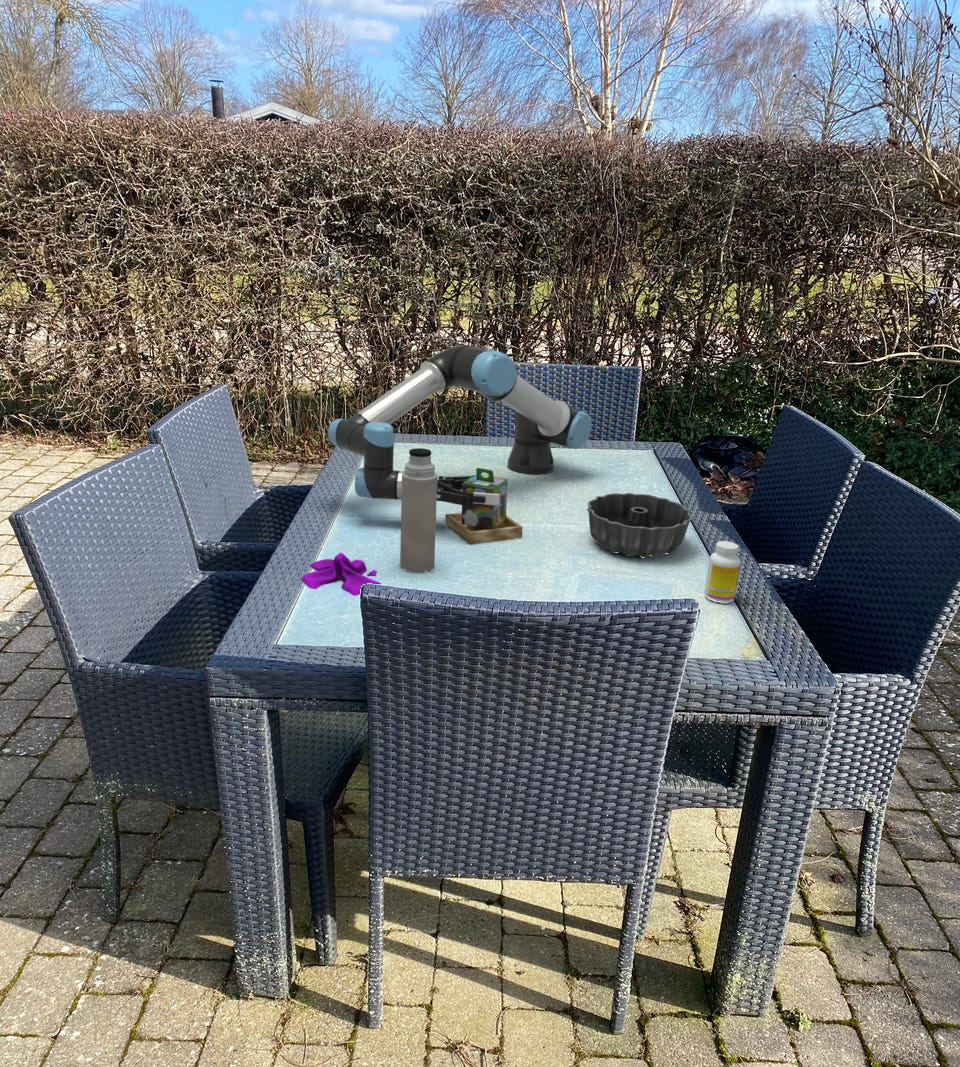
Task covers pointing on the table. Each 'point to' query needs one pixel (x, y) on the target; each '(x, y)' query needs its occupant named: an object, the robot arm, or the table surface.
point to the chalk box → (485, 513)
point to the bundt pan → (638, 523)
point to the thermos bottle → (418, 512)
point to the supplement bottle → (723, 572)
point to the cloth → (339, 574)
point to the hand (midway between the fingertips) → (500, 492)
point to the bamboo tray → (483, 530)
